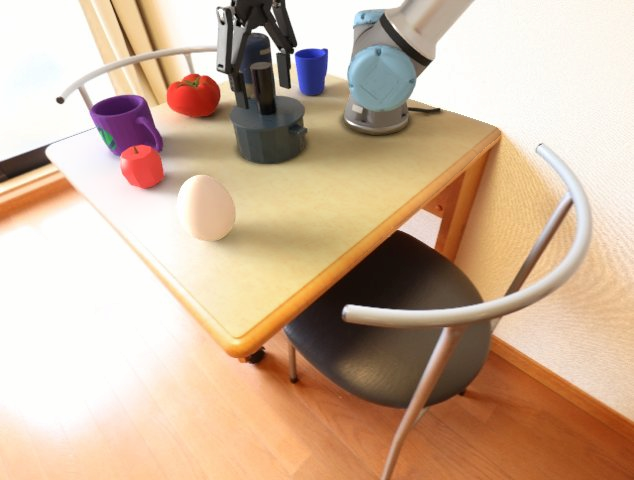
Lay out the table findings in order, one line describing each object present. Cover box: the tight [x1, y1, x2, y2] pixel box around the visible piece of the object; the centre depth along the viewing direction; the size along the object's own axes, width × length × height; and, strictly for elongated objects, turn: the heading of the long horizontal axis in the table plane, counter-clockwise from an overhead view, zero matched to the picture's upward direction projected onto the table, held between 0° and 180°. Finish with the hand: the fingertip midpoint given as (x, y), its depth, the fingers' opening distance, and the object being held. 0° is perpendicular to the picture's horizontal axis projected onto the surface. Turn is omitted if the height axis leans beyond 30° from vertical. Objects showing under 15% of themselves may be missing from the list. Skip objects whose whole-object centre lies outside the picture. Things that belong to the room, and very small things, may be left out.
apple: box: [119, 145, 165, 189], centre depth 71 cm, size 8×8×8 cm
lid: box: [228, 62, 306, 132], centre depth 73 cm, size 16×16×10 cm
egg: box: [176, 174, 237, 242], centre depth 57 cm, size 9×9×12 cm
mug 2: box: [294, 47, 329, 96], centre depth 100 cm, size 8×12×10 cm
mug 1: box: [89, 94, 164, 157], centre depth 79 cm, size 17×11×10 cm, turn 55°
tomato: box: [166, 73, 221, 119], centre depth 92 cm, size 14×13×9 cm
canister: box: [239, 32, 277, 99], centre depth 89 cm, size 10×10×18 cm
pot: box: [232, 105, 308, 165], centre depth 79 cm, size 15×20×8 cm
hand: (265, 96), depth 74 cm, fingers open, 11 cm apart
